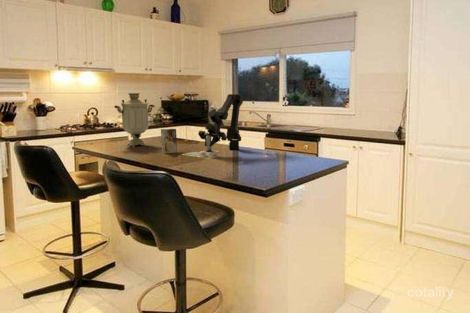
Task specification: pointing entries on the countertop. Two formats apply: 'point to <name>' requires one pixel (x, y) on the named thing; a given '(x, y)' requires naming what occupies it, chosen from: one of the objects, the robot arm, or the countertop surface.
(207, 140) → the key rod
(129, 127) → the samovar
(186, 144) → the countertop surface
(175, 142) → the coffee box
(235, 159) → the countertop surface
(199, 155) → the board
